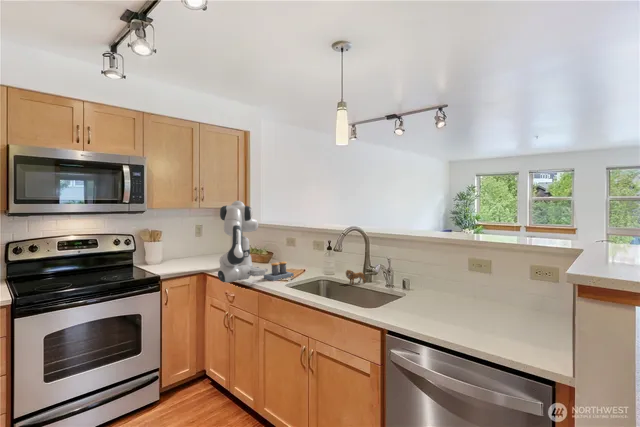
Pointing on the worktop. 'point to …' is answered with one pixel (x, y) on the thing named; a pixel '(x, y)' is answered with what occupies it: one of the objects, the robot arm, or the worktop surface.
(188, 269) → the worktop surface
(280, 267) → the seated jaw
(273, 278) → the housing
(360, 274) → the lion figurine
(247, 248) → the robot arm
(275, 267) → the jaw peg
